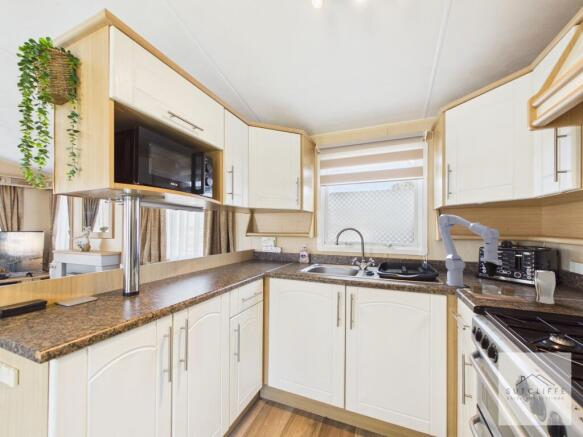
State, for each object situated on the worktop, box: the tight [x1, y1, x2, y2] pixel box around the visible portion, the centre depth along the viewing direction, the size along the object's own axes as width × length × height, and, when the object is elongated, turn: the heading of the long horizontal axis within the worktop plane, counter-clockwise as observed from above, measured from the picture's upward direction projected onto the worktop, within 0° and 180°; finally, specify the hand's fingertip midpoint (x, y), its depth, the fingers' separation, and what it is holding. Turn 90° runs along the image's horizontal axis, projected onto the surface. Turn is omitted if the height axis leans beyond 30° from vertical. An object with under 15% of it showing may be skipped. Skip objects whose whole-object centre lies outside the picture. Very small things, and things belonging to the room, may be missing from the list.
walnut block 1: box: [469, 283, 483, 294], centre depth 130 cm, size 4×4×4 cm
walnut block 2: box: [500, 285, 516, 296], centre depth 126 cm, size 4×4×4 cm
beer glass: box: [533, 269, 556, 305], centre depth 115 cm, size 7×7×15 cm
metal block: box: [484, 284, 499, 295], centre depth 128 cm, size 4×4×4 cm
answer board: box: [462, 287, 530, 303], centre depth 127 cm, size 20×22×1 cm
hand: (490, 276), depth 129 cm, fingers closed
